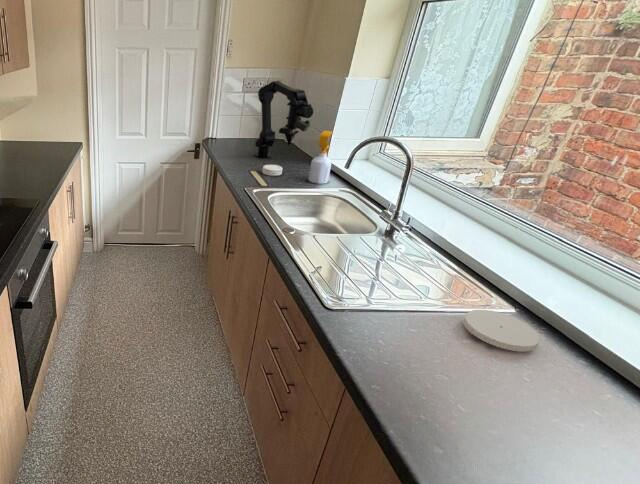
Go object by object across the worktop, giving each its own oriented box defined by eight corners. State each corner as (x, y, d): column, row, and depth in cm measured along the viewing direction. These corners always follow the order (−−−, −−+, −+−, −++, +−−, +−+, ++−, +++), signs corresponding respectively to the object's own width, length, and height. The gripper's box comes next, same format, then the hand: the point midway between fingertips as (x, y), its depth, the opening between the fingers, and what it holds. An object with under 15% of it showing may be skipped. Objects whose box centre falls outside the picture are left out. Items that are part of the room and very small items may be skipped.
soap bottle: (330, 180, 207) (340, 131, 196) (323, 185, 201) (333, 134, 190) (312, 177, 212) (321, 128, 201) (305, 181, 206) (314, 131, 195)
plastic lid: (552, 352, 95) (557, 343, 94) (496, 357, 94) (500, 348, 93) (497, 315, 108) (501, 307, 106) (447, 319, 106) (451, 311, 105)
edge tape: (250, 171, 223) (250, 171, 223) (255, 171, 223) (255, 171, 223) (261, 185, 202) (261, 185, 202) (267, 185, 202) (267, 185, 201)
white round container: (284, 176, 214) (285, 169, 213) (264, 176, 215) (265, 169, 213) (278, 170, 223) (279, 164, 222) (260, 170, 224) (260, 164, 222)
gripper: (301, 119, 209) (296, 150, 216) (316, 114, 221) (310, 143, 228) (280, 117, 215) (276, 146, 222) (295, 112, 227) (291, 140, 234)
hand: (289, 144), depth 227 cm, fingers closed
